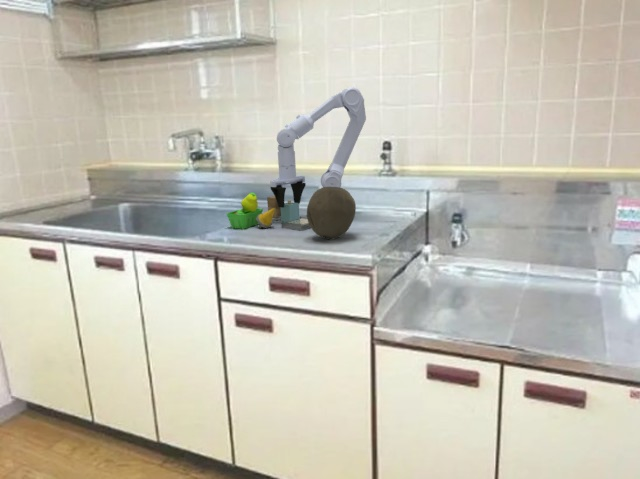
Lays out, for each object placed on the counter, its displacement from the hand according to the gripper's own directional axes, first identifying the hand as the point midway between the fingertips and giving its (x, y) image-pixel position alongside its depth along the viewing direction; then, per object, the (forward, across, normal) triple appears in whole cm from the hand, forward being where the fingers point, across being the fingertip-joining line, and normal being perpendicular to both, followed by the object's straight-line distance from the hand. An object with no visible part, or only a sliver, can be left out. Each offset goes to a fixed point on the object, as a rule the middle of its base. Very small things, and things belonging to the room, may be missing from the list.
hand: (289, 205), depth 183 cm
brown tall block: (+4, 0, -7) cm, 8 cm away
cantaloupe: (+6, +11, +29) cm, 32 cm away
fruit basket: (+6, +13, -7) cm, 16 cm away
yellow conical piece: (+6, +11, +1) cm, 13 cm away
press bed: (+5, +4, +10) cm, 12 cm away
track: (+5, +1, -7) cm, 9 cm away
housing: (+5, 0, 0) cm, 5 cm away
